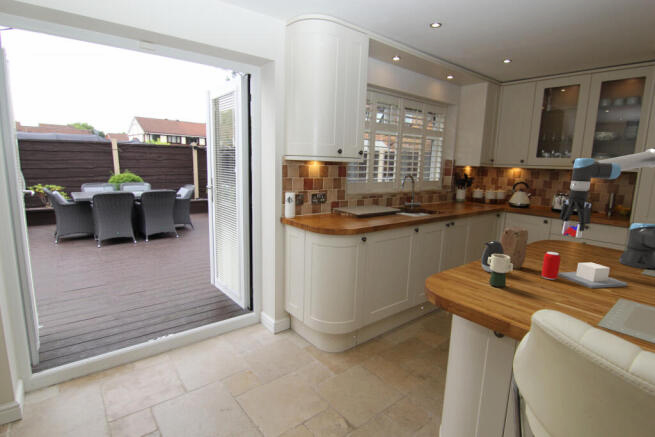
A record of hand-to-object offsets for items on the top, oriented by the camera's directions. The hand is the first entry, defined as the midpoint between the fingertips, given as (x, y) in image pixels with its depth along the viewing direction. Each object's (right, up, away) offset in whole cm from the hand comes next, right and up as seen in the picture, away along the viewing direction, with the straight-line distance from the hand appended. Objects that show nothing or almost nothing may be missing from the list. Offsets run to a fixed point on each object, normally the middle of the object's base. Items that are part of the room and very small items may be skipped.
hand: (571, 235), depth 165 cm
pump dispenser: (-44, -17, -8) cm, 48 cm away
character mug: (-51, -20, -26) cm, 61 cm away
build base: (-3, -20, -15) cm, 25 cm away
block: (-30, -16, +2) cm, 34 cm away
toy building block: (0, -1, 0) cm, 1 cm away
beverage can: (-21, -19, -14) cm, 32 cm away
